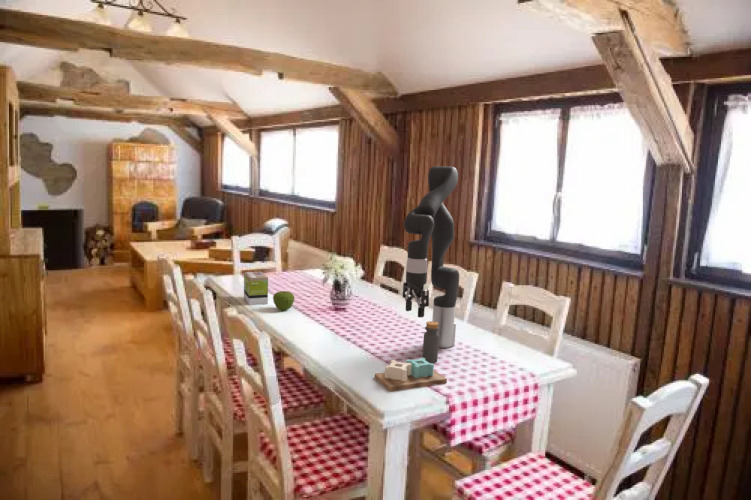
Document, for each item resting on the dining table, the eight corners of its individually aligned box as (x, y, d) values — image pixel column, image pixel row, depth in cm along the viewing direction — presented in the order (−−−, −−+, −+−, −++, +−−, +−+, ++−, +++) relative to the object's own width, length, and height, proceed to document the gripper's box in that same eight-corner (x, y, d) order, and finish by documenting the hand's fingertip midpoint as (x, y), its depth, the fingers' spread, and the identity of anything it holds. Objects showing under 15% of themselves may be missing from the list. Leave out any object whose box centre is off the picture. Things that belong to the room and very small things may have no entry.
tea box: (243, 298, 283) (243, 271, 281) (261, 297, 288) (262, 271, 285) (248, 305, 270) (249, 277, 268) (268, 304, 274) (268, 276, 272)
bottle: (436, 358, 207) (438, 321, 205) (438, 363, 201) (441, 325, 199) (421, 357, 207) (423, 320, 204) (423, 362, 201) (425, 324, 199)
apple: (292, 313, 259) (292, 293, 258) (270, 312, 259) (271, 292, 258) (295, 307, 270) (296, 288, 268) (275, 306, 270) (275, 287, 269)
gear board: (428, 370, 193) (429, 356, 192) (446, 382, 182) (447, 367, 182) (374, 377, 184) (375, 362, 183) (390, 391, 173) (391, 375, 172)
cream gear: (390, 370, 187) (391, 359, 186) (411, 374, 184) (412, 363, 184) (383, 378, 179) (384, 366, 179) (405, 382, 177) (406, 370, 176)
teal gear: (423, 367, 191) (423, 357, 190) (434, 375, 184) (435, 364, 183) (404, 370, 187) (405, 359, 187) (415, 378, 180) (416, 367, 180)
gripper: (436, 273, 183) (434, 318, 186) (415, 265, 196) (413, 307, 198) (418, 275, 180) (415, 320, 183) (397, 266, 192) (395, 309, 195)
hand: (414, 313), depth 191 cm, fingers open, 8 cm apart
